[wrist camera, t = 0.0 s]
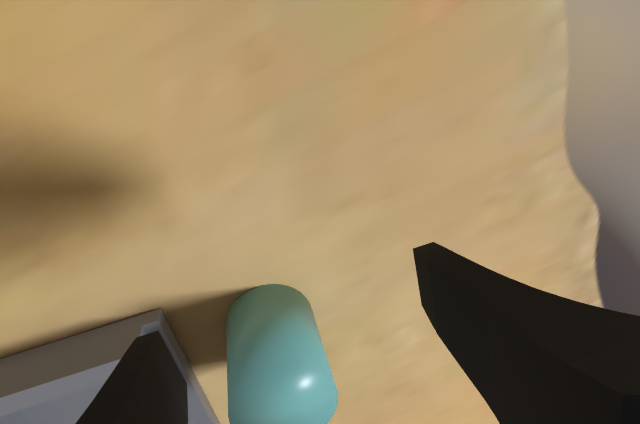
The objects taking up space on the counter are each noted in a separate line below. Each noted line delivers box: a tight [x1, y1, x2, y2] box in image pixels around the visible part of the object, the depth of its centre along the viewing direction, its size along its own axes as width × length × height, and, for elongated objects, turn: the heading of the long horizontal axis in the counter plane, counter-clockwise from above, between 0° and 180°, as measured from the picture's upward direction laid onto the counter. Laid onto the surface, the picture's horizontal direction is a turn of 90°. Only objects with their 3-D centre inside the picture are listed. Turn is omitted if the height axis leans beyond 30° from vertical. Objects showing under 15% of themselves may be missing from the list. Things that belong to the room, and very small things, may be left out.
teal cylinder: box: [226, 284, 338, 424], centre depth 22 cm, size 5×5×6 cm
